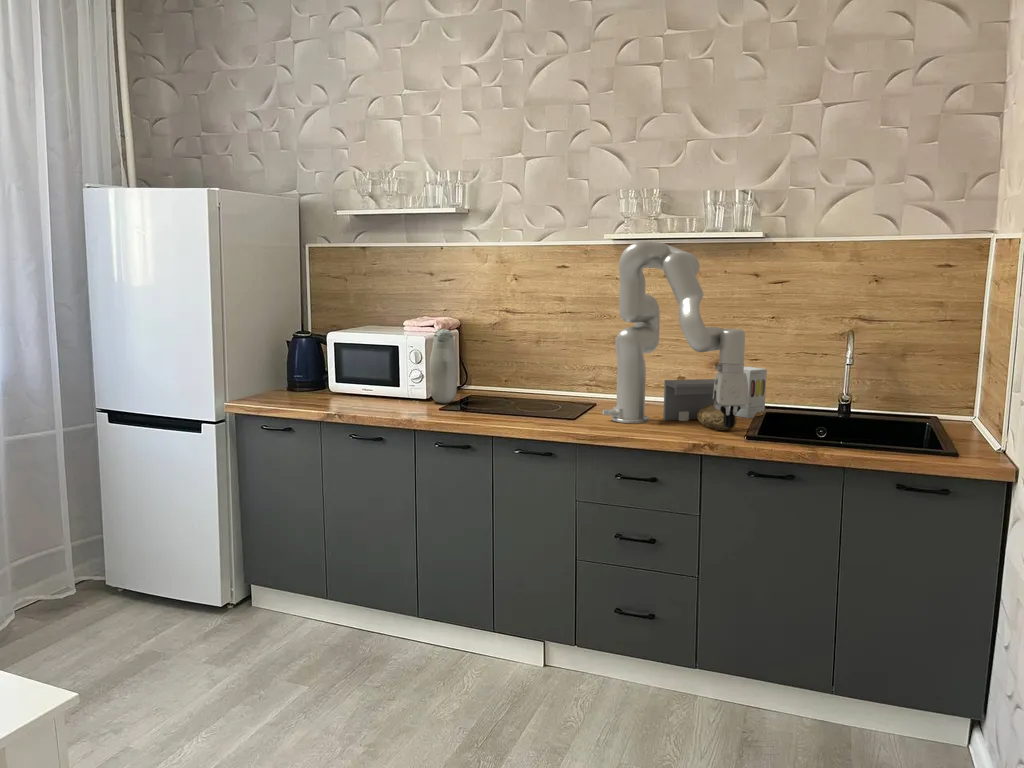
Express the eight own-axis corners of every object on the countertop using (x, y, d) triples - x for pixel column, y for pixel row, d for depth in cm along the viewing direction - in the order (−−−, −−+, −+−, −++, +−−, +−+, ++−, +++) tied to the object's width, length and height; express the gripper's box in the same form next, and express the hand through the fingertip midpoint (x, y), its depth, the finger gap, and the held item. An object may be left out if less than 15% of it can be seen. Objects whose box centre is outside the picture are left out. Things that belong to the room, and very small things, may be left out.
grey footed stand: (675, 424, 277) (676, 384, 275) (663, 419, 286) (664, 380, 285) (730, 422, 281) (732, 382, 279) (717, 417, 291) (718, 378, 289)
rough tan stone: (697, 424, 285) (691, 422, 266) (703, 402, 285) (697, 398, 266) (736, 434, 281) (733, 433, 262) (742, 411, 281) (739, 408, 262)
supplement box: (747, 418, 289) (750, 370, 287) (726, 414, 296) (728, 367, 294) (765, 416, 295) (767, 368, 292) (744, 412, 302) (746, 365, 300)
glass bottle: (426, 402, 319) (426, 328, 315) (451, 400, 323) (451, 327, 319) (435, 405, 310) (434, 330, 306) (461, 404, 314) (460, 329, 311)
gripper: (714, 370, 254) (712, 430, 256) (759, 369, 257) (756, 428, 260) (703, 368, 261) (701, 425, 264) (747, 366, 264) (744, 424, 267)
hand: (728, 427), depth 262 cm, fingers closed
